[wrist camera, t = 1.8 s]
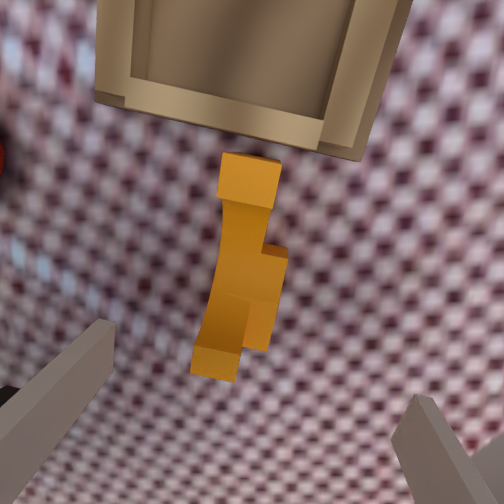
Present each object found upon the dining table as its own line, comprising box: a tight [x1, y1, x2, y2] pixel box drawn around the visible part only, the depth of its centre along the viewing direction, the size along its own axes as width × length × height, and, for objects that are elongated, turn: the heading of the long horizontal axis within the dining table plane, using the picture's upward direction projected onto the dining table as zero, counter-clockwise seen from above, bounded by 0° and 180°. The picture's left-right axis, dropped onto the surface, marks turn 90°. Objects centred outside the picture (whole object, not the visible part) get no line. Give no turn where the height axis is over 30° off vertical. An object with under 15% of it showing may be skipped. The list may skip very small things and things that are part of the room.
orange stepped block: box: [190, 152, 288, 383], centre depth 17 cm, size 12×4×6 cm, turn 169°
